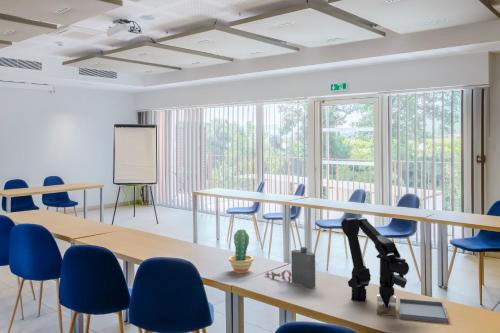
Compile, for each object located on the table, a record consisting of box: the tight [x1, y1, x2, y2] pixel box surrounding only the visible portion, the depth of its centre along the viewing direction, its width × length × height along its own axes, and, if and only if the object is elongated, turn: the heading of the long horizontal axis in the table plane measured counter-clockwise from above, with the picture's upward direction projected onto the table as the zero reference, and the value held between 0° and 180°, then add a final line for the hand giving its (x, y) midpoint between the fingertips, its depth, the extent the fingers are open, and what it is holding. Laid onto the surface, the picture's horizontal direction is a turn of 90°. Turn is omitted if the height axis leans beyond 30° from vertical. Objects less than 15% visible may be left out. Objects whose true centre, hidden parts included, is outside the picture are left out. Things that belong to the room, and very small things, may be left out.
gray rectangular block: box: [376, 294, 397, 307], centre depth 194 cm, size 8×2×7 cm, turn 73°
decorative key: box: [264, 269, 292, 284], centre depth 243 cm, size 7×1×20 cm
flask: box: [290, 246, 316, 289], centre depth 233 cm, size 15×6×20 cm, turn 44°
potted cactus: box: [228, 228, 255, 274], centre depth 259 cm, size 16×15×25 cm
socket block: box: [376, 301, 397, 316], centre depth 194 cm, size 8×8×2 cm
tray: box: [397, 297, 449, 324], centre depth 193 cm, size 19×19×2 cm
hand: (386, 303), depth 194 cm, fingers open, 8 cm apart
